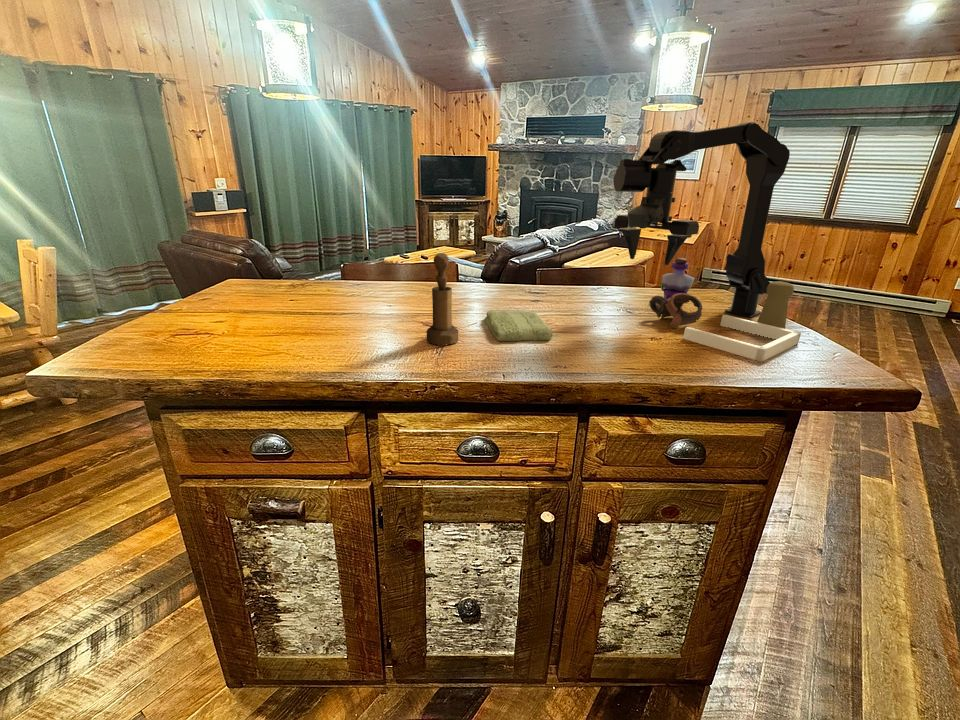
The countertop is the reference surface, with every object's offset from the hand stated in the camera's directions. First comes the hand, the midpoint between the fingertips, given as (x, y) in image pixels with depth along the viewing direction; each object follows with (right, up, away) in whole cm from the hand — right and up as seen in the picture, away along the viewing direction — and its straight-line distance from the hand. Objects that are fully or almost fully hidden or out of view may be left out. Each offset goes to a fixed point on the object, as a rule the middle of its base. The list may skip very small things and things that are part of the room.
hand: (648, 261), depth 112 cm
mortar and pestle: (-48, -20, -14) cm, 54 cm away
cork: (+27, -16, -2) cm, 32 cm away
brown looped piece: (+6, -15, +1) cm, 16 cm away
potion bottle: (+14, -7, +20) cm, 25 cm away
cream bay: (+15, -19, -11) cm, 27 cm away
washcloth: (-32, -17, -5) cm, 37 cm away
